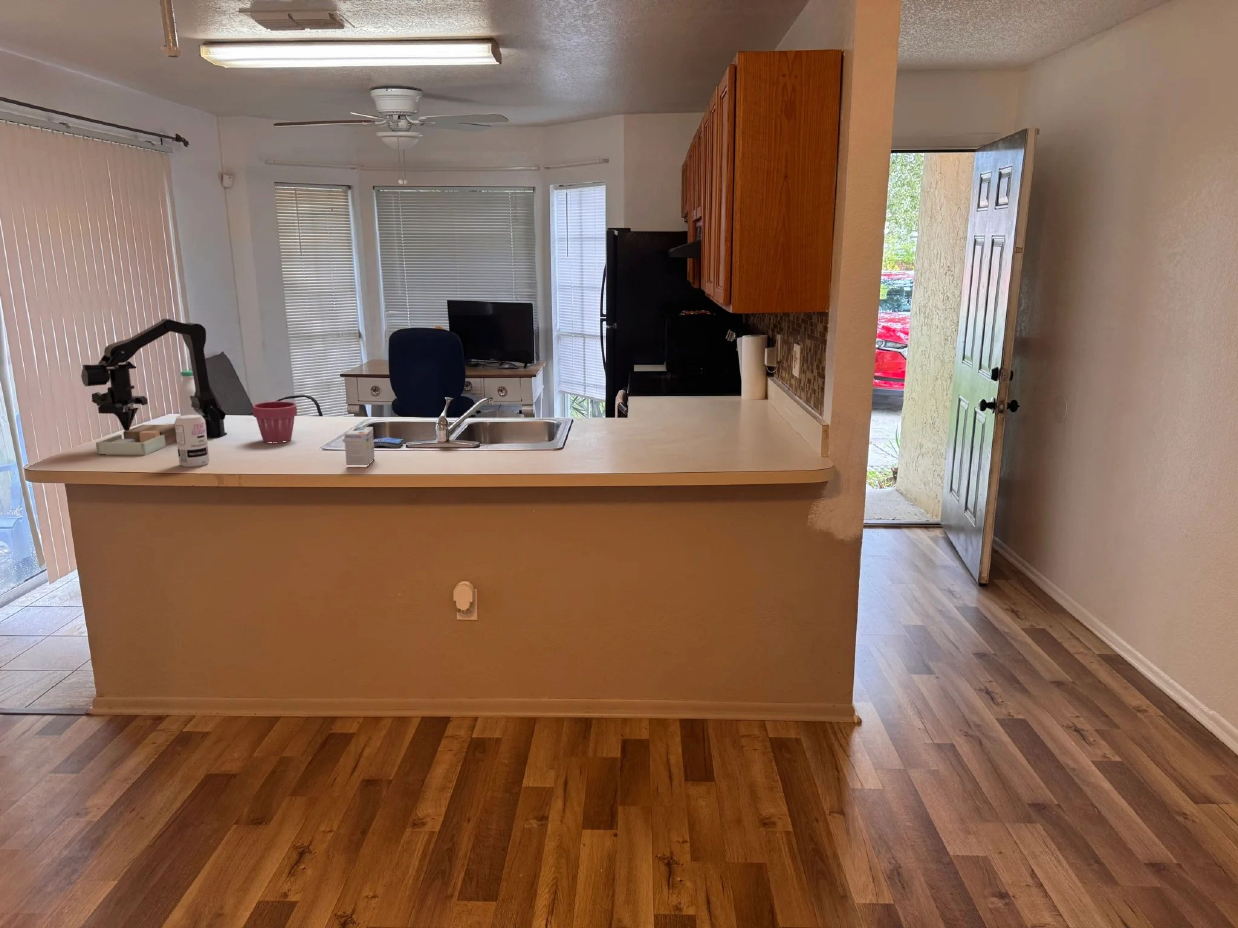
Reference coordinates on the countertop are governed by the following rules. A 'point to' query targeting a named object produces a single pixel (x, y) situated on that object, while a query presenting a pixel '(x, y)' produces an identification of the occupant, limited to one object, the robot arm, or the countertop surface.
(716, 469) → the countertop surface
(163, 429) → the walnut block
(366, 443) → the light bulb box
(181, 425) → the supplement can
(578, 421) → the countertop surface
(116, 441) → the pale grey squat block
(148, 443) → the sage tray
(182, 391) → the milk bottle
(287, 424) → the plant pot
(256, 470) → the countertop surface
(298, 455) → the countertop surface
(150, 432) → the peach square prism
